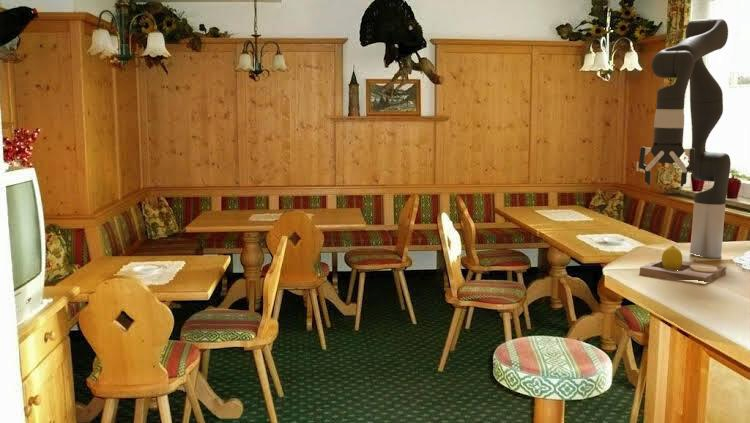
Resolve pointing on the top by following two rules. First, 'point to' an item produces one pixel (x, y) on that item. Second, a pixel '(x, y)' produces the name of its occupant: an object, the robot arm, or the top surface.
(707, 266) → the saucer
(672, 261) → the lemon
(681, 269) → the pocket board
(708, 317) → the top surface
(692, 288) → the top surface
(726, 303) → the top surface
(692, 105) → the robot arm
